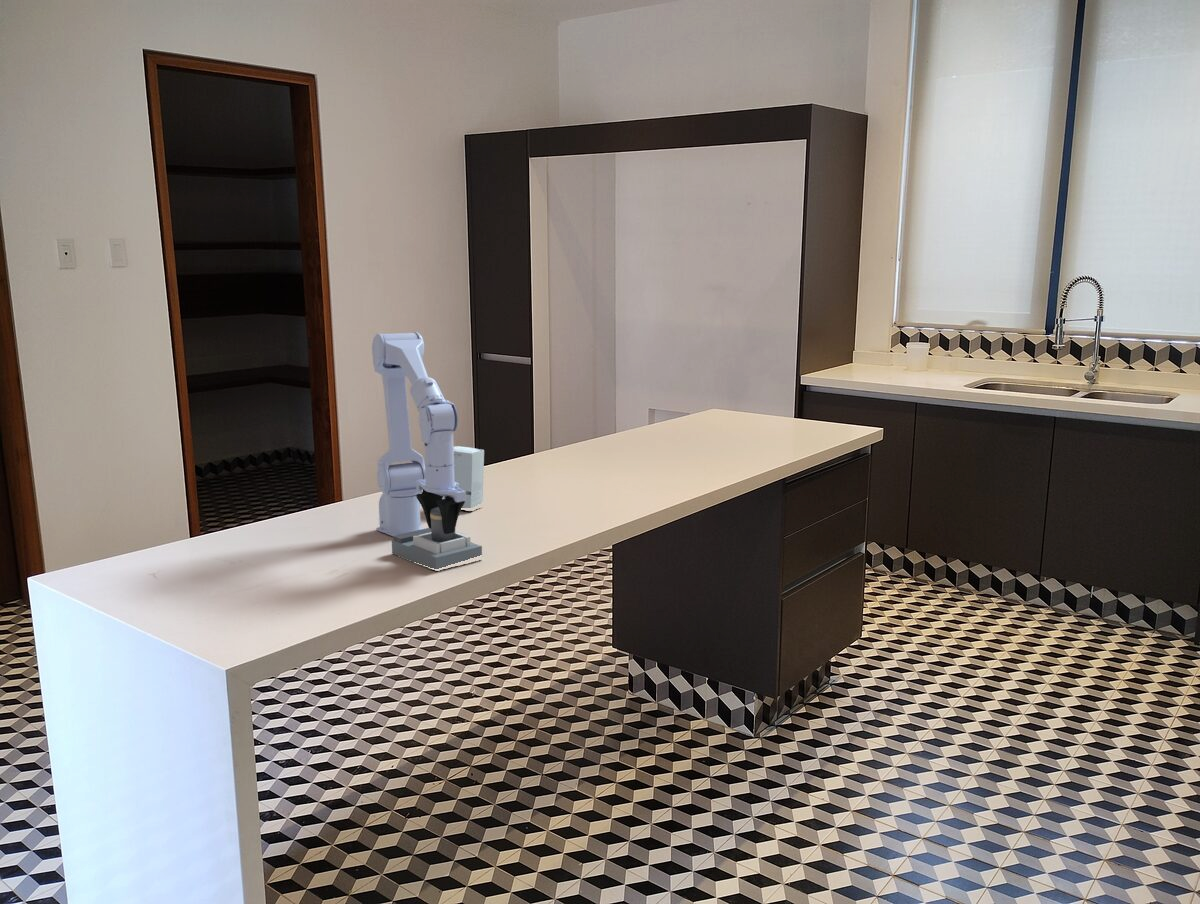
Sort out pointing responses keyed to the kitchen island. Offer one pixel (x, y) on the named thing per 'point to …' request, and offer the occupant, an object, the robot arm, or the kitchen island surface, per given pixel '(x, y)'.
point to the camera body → (434, 548)
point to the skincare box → (469, 474)
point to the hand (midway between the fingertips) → (441, 530)
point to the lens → (439, 527)
